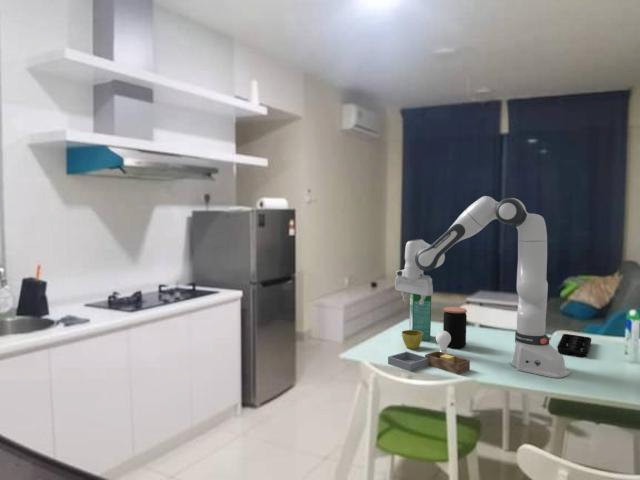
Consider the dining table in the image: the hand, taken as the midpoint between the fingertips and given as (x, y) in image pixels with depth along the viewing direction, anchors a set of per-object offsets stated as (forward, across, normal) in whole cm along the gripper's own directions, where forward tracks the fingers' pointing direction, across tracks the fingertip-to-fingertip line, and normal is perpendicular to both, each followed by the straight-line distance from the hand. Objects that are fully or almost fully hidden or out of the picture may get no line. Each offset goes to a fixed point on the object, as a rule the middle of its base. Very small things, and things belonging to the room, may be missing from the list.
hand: (413, 302), depth 224 cm
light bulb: (+22, -16, -2) cm, 27 cm away
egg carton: (+22, -49, -60) cm, 81 cm away
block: (+21, -28, +12) cm, 37 cm away
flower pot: (+22, 0, 0) cm, 22 cm away
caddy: (+21, -28, +12) cm, 37 cm away
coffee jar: (+22, -11, -18) cm, 30 cm away
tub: (+22, -16, +22) cm, 35 cm away
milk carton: (+22, +9, -17) cm, 29 cm away
